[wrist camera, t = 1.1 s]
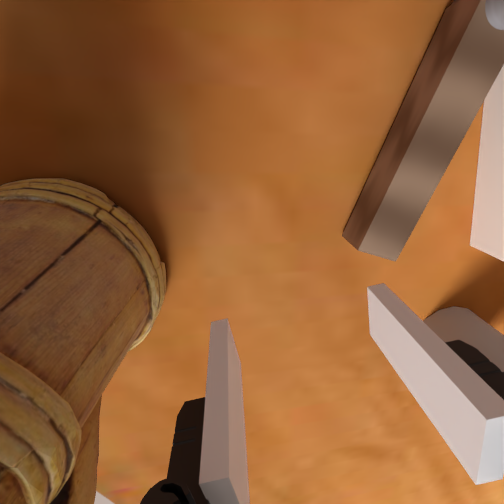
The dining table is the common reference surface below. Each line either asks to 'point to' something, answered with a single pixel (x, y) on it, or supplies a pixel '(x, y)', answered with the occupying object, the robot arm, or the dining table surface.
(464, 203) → the dining table surface
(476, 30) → the folding leg
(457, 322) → the cup
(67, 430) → the tankard
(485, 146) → the white rectangular box
